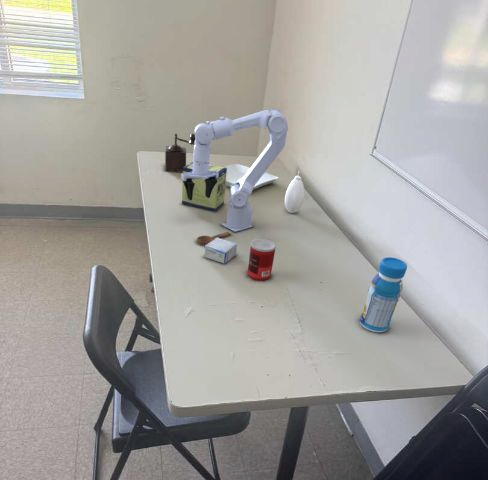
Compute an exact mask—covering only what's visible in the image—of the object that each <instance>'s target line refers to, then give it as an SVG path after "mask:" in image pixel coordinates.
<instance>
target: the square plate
mask: <svg viewBox="0 0 488 480" xmlns="http://www.w3.org/2000/svg"><path fill="white" fill-rule="evenodd" d="M223 167H224V168H227V174H226V186H225V187H228V188H230V187H231V186H232V185H233V184H235V183H237V182H238V181H239V179H241V178H243V177H244V176H245V174H246V173H247V172H248V170H249V169H250V168H251V166H246V165H242V164H239V163H233V164H228V165H226V166H223ZM279 178H280V177H279V176H277V175H274V174H271V173H268V172H266V171H265V173H264V174H263V175H262V177H261V178H260V179H259V180H258V182H257V183H256V184H255V186H254V187H253V190H256V189H258V188H260V187H264V186H266V185H269V184H271V183H273V182H275V181H277V180H278V179H279ZM253 190H252V191H253Z"/></svg>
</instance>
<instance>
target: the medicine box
mask: <svg viewBox="0 0 488 480" xmlns="http://www.w3.org/2000/svg"><path fill="white" fill-rule="evenodd" d="M237 247H238V243H236V242H233V241H230V240H227V239H223V238H216V239H214V240H213V241H211V242H210V243H208V244H207V245H204V258H205V259H209V260H211V261H214V262H218V263H222V264H224V265H225V264H226V263H227V262H229V261H230V260H231V259H232V258H234V257H235V256H236V255H237Z"/></svg>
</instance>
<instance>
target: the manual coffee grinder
mask: <svg viewBox="0 0 488 480" xmlns="http://www.w3.org/2000/svg"><path fill="white" fill-rule="evenodd" d="M189 139H190V140H187V139H183V138H179V137H178V134H177V133H175V134H174V144H172V145H166V146H165V147H164V171H165V172H174V173H175V172H176V173H177V172H178V173H183V167H184V166H186V165H187V148H186V147H183V146H180V145H178V141H180V142H184V143H187V144H189V145H190V146H193V145H194V146H195V144H194V143H195V133H191V134H189Z"/></svg>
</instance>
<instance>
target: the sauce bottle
mask: <svg viewBox="0 0 488 480" xmlns="http://www.w3.org/2000/svg"><path fill="white" fill-rule="evenodd" d="M304 201H305V186H304V182H303V180H302V177H301V176H300V171H298V172H297V175H295V176H294V178H293V179H292V180H291V182H290V183H289V185H288V186H287V188H286V192H285V194H284V206H285V209H286V210H287V211H288V212H289V213H290V214H294V213H297V212H298V211H299V210H300V209H301V208H302V206H303V204H304Z"/></svg>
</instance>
